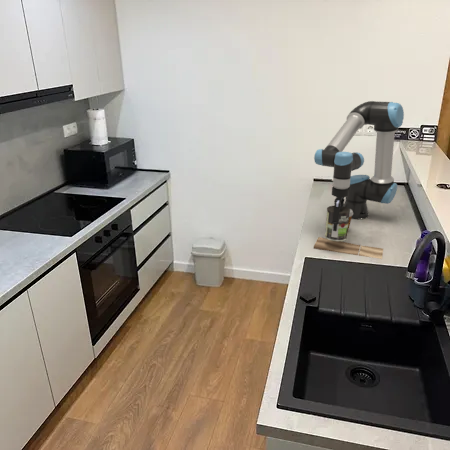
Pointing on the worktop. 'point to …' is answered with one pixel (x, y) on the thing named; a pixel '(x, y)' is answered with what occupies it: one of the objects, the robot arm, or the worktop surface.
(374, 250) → the laid plank
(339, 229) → the coffee can
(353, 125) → the robot arm
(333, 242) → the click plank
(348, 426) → the worktop surface
